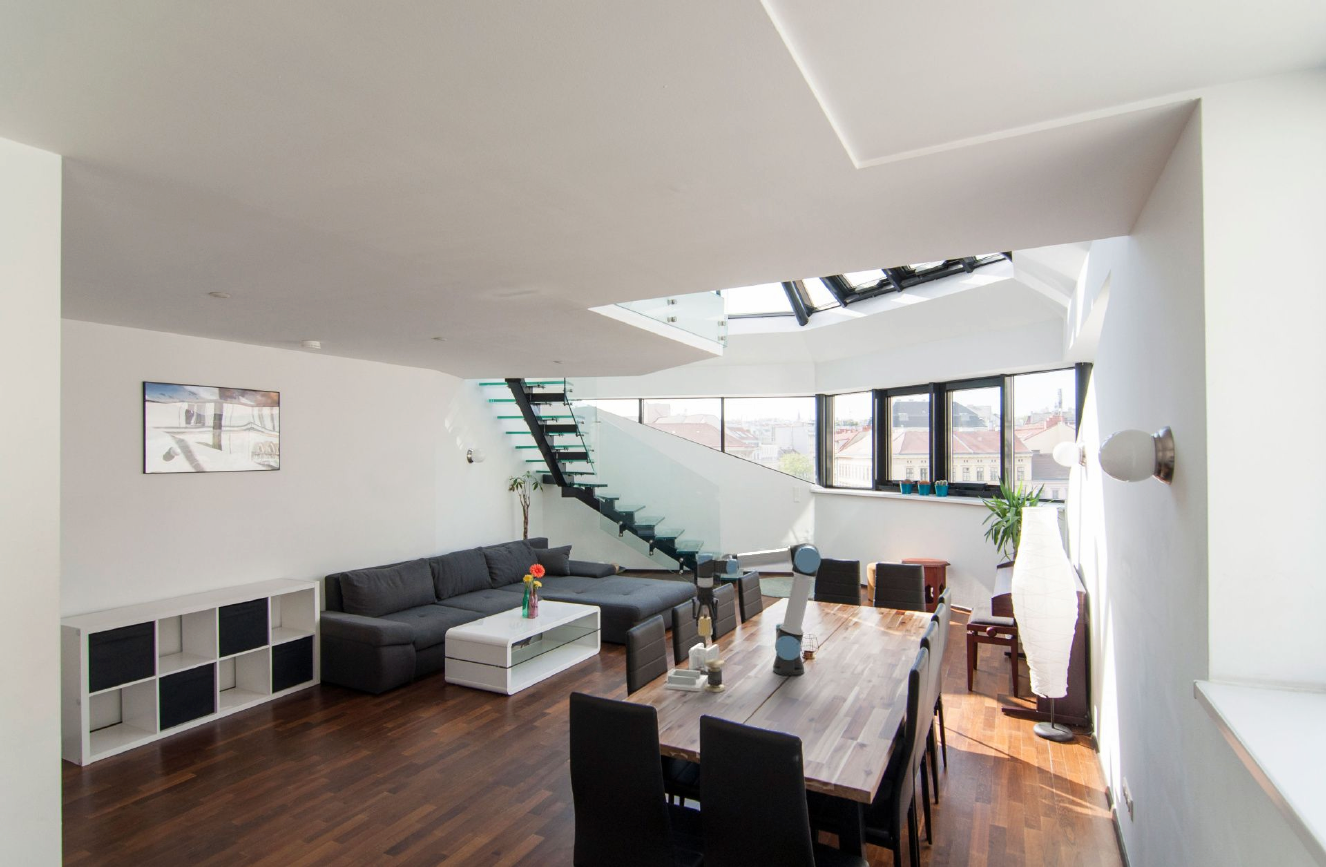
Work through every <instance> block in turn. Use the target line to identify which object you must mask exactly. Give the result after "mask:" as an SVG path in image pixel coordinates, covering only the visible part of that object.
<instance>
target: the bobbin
mask: <svg viewBox="0 0 1326 867" xmlns="http://www.w3.org/2000/svg"><path fill="white" fill-rule="evenodd" d="M705 666H707V667H710V669H708V673H707V675H708V680H707V684H706V685H704V689H705V691H707V692H709V693H722V692H724V691H725V690H726V686H725V685H724V684H723V672H722V671H723V670H722V667H723V668H724V666H725V661H724V660H722V659H719V660H716V659H712V660H707V661H705Z"/></svg>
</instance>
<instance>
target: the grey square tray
mask: <svg viewBox="0 0 1326 867" xmlns="http://www.w3.org/2000/svg"><path fill="white" fill-rule="evenodd" d="M707 682H708V674H705V675H704V674H701V670H695V671H694V670H689V669H680V668H679V669H678V668H673V669H672V670H671V672H670V673H669V674H668V675H667V683H666V684H665V689H667V690H678V691H679V690H681V691H689V690H690V692H701V691H702V689H703V687H705V684H706V683H707Z"/></svg>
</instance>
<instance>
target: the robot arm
mask: <svg viewBox="0 0 1326 867" xmlns="http://www.w3.org/2000/svg"><path fill="white" fill-rule="evenodd" d="M821 561H822V559H821V554H820V552H819V549H818V548H817V546H815V545H813V544H812V543H809V542H807V543H806V542H805V543H798V544H794V545H788V547H787V548H785V547H784V548H777V549H768V550H759V551H751V552H743V553H742V552H740V553H739V552H738V553H733V554H732V553H726V554H724V555H722V557H721V558H719V557H718V558H717V557H714V555H713V554H712V553H706V552H705V553H699V554H698V555H697V564H696V565H697V566H696V567H697V585H698V586H697V596H696V597H695V596H693V597H692V598H691V602H692V612H691V613H692V614H691V615H692V616H691V617H692V619H693V620H695V624H696V625H695V626H696V628H697V630H698V632H697V634H698V635H699V619H700V618H701V613H702V611H703V606H707V608H708V612H709V617H711V621H710V636H712V635H713V629H714V628H715V626H716V625H715V622H716V621H718V619H719V601H720V599H719V598H715V596H714V586H713V585H714V575H730V576H732V575H737V574H738V570H741V569H749V568H759V567H760V568H761V567H767V566H768V567H770V566H777V565H788V564H789V565H791V566H792V567H791V572H792V573H793V579H792V583H791V586H790V587H791V588H790V593H789V596H788V601H787V606H786V610H785V616H784V619H783V622H781V623H777V624H776V626H775V645H774V647H775V652H776V655H775V658H774V662H773V665H772V670H773V672H774V673H775V674H778V675H782V676H789V677H791V676H792V677H793V676H800V675H803V674H804V673H805V666H804V663H803V660H802V656H801V651H802V642H803V637H804V633H805V632H804V631H803V629H802V626H803V623H804V618H805V614H806V613H805V612H806V609H807V605H808V600H809V595H810V591H811V586H812V583H813V582H812V581H813V580H814V579H816V578H817V575H818V570H819V568H820V565H821ZM697 601H698V603H699V605H698V609H697ZM712 602H713V603H714V611H713V607H712Z"/></svg>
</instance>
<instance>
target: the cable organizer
mask: <svg viewBox="0 0 1326 867" xmlns="http://www.w3.org/2000/svg"><path fill="white" fill-rule="evenodd" d="M719 646H720V645H719V644H718V643H717V644H715V643H714V644H713V645H711V646H710V647H709V648H707V647H706V648H705V645H704V643H703V642H699V643H696V645H694V646H692V647H690V649H689V650H688V664H689V666H688V670H694V671H697V670H699V669H700V668H703V670H705V672H706V673H707V674H708V669H710V667H707V666H705V661H707V660H712V659H716V660H720V649H719Z"/></svg>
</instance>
